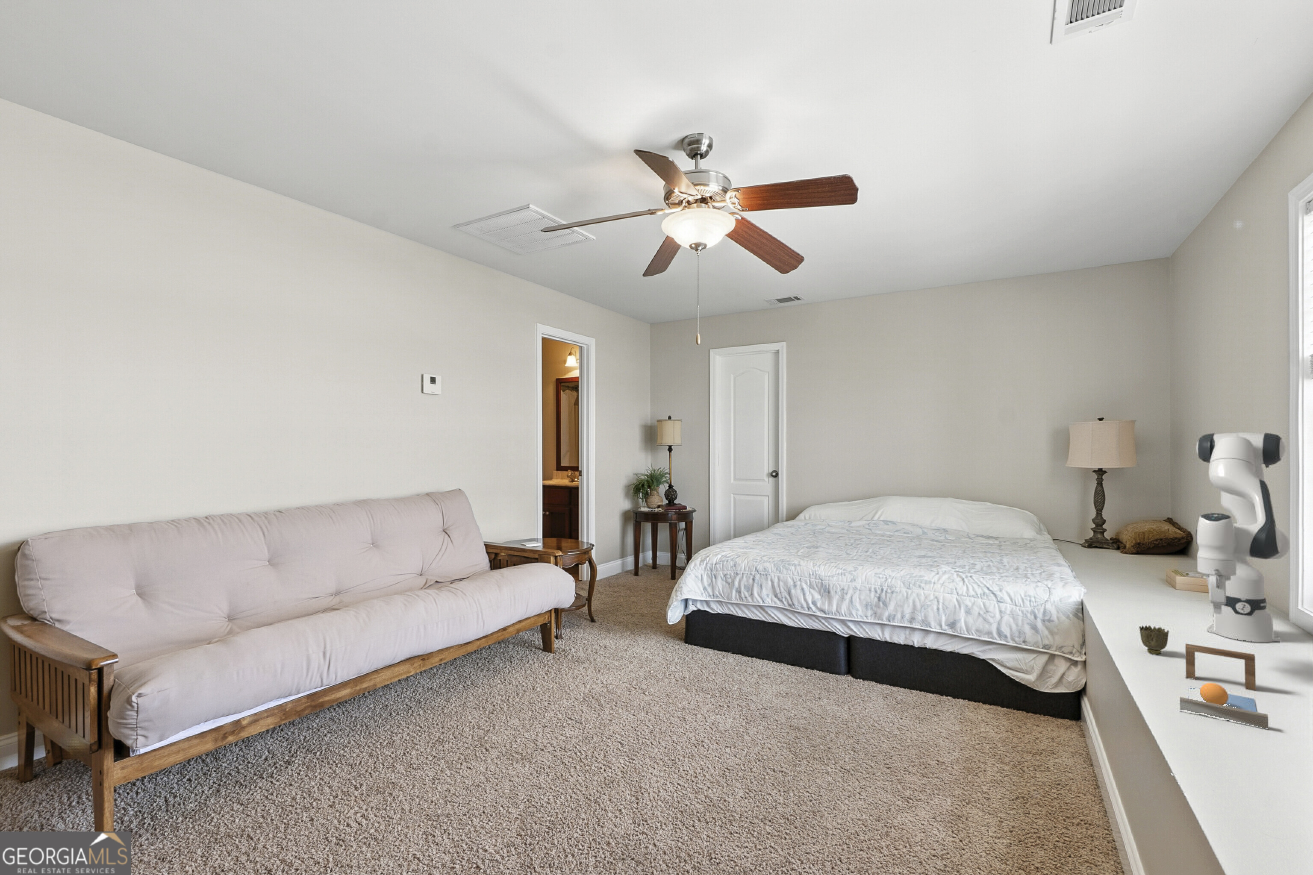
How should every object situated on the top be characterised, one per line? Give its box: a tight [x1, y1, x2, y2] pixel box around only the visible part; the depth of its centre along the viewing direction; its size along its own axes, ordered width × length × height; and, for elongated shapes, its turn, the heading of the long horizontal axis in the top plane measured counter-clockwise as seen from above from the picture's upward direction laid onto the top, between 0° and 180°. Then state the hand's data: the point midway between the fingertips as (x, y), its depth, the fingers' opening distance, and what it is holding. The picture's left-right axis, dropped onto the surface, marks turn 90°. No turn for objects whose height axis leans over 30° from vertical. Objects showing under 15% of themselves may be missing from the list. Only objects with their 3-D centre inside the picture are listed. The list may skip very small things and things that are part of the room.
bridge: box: [1184, 643, 1257, 692], centre depth 176 cm, size 3×14×9 cm, turn 49°
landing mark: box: [1190, 687, 1257, 712], centre depth 164 cm, size 13×13×1 cm
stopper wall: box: [1179, 696, 1269, 729], centre depth 153 cm, size 2×16×3 cm, turn 49°
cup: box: [1138, 625, 1170, 656], centre depth 200 cm, size 8×7×8 cm
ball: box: [1200, 682, 1229, 705], centre depth 161 cm, size 6×6×6 cm
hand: (1217, 612), depth 189 cm, fingers closed
